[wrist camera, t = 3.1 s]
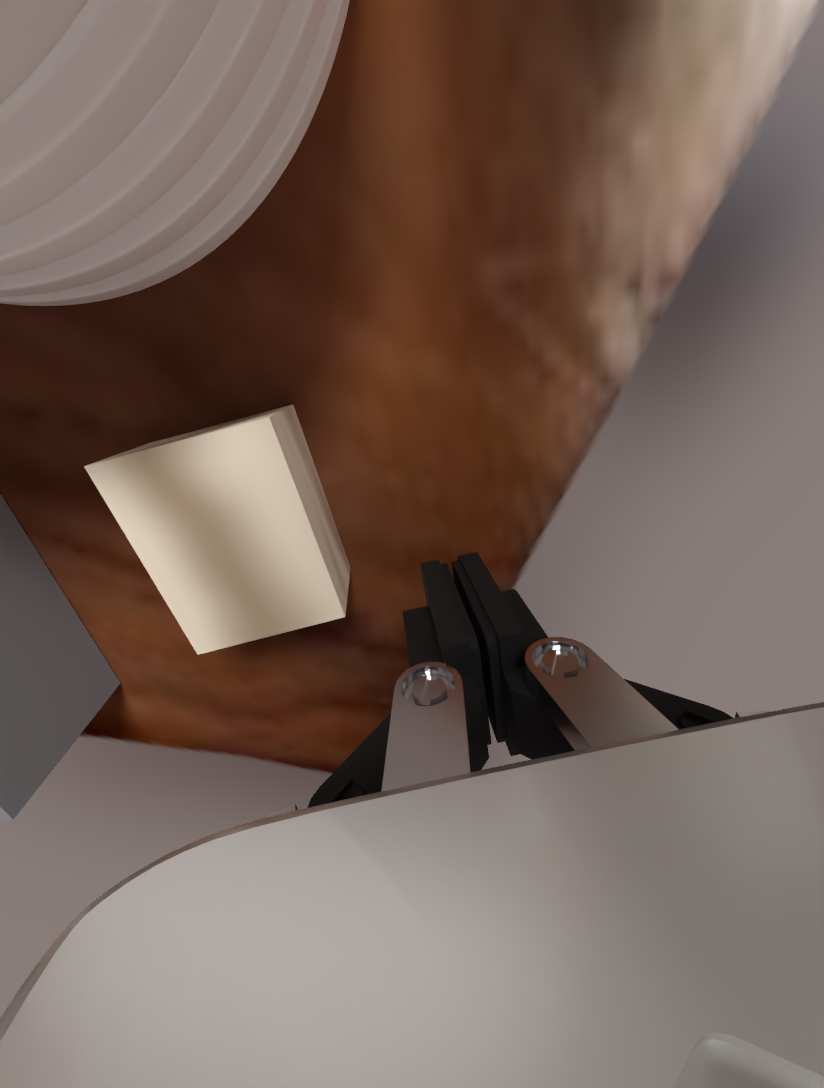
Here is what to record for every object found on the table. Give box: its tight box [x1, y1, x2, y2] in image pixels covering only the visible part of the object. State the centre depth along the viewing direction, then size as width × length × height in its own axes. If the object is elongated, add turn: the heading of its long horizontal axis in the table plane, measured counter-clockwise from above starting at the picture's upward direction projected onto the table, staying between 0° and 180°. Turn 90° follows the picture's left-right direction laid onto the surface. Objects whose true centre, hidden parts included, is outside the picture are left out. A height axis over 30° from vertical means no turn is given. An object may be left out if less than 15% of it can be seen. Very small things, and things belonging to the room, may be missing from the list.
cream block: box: [84, 405, 351, 655], centre depth 19 cm, size 7×9×5 cm
